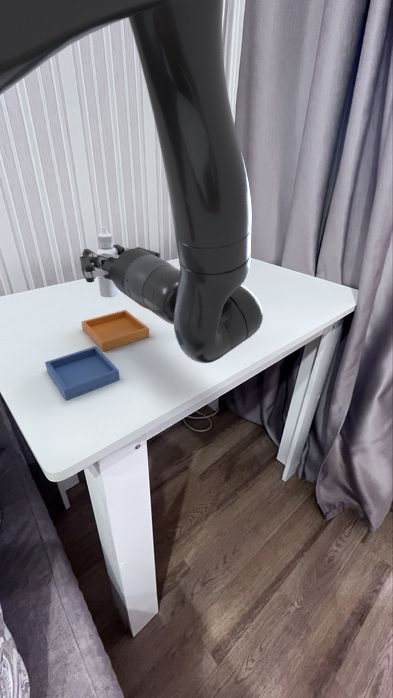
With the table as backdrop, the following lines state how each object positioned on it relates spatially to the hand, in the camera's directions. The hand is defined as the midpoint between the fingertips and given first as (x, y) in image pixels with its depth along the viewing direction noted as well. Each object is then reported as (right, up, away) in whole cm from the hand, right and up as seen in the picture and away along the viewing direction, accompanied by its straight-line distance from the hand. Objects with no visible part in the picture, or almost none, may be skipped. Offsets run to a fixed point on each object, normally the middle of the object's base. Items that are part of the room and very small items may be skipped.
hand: (101, 252), depth 61 cm
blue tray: (-2, -22, -4) cm, 23 cm away
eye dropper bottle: (+1, -7, +2) cm, 8 cm away
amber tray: (+1, -15, +8) cm, 17 cm away
